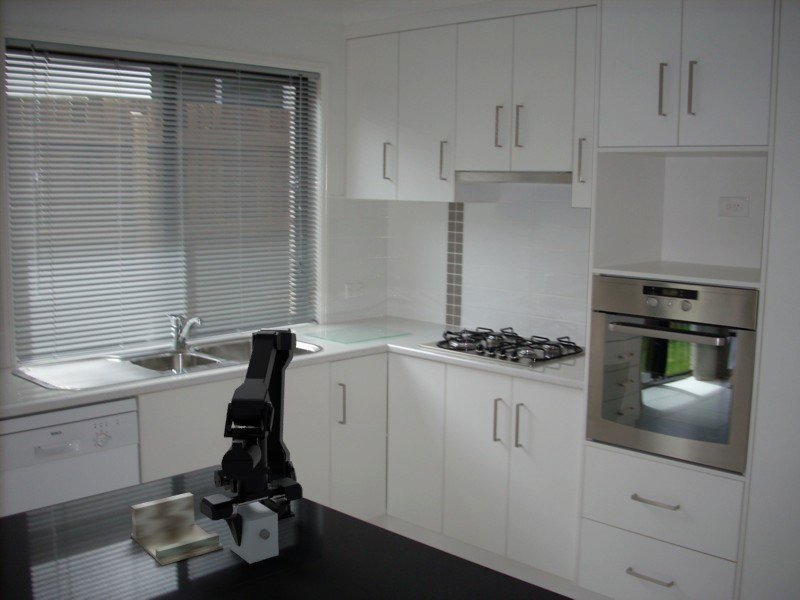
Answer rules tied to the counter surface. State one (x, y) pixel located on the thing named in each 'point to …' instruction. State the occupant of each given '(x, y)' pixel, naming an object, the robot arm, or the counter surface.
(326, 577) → the counter surface
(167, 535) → the cleat board
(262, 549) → the cabinet block
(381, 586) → the counter surface
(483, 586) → the counter surface
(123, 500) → the counter surface
